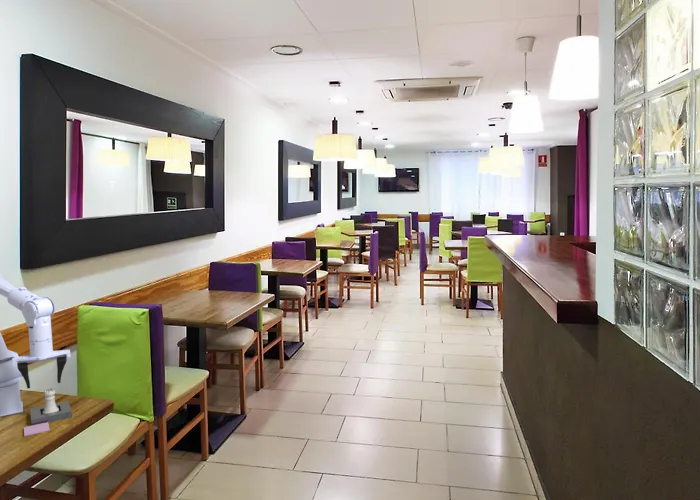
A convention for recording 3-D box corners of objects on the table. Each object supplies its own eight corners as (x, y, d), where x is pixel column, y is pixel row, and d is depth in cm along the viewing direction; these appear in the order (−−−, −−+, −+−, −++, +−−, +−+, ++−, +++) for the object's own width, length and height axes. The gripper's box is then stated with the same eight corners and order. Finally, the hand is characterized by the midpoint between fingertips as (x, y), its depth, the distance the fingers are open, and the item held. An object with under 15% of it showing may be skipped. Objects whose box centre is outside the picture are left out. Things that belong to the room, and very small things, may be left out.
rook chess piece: (51, 419, 151) (49, 393, 150) (38, 418, 152) (36, 392, 151) (63, 413, 155) (61, 387, 154) (50, 412, 156) (48, 386, 155)
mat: (23, 428, 144) (23, 427, 144) (48, 423, 148) (48, 422, 148) (24, 436, 140) (24, 435, 139) (49, 430, 143) (49, 429, 143)
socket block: (30, 414, 155) (30, 408, 155) (68, 406, 160) (68, 400, 160) (31, 425, 146) (31, 419, 146) (71, 417, 152) (71, 411, 152)
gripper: (10, 346, 142) (14, 394, 143) (70, 338, 150) (73, 383, 151) (11, 341, 148) (14, 386, 149) (68, 333, 156) (71, 377, 157)
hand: (44, 384), depth 150 cm, fingers open, 7 cm apart
